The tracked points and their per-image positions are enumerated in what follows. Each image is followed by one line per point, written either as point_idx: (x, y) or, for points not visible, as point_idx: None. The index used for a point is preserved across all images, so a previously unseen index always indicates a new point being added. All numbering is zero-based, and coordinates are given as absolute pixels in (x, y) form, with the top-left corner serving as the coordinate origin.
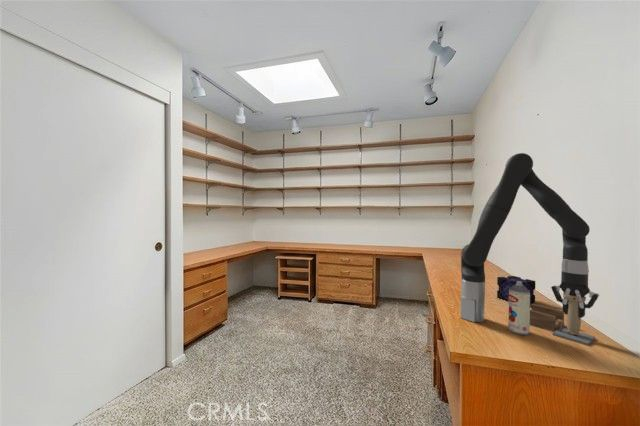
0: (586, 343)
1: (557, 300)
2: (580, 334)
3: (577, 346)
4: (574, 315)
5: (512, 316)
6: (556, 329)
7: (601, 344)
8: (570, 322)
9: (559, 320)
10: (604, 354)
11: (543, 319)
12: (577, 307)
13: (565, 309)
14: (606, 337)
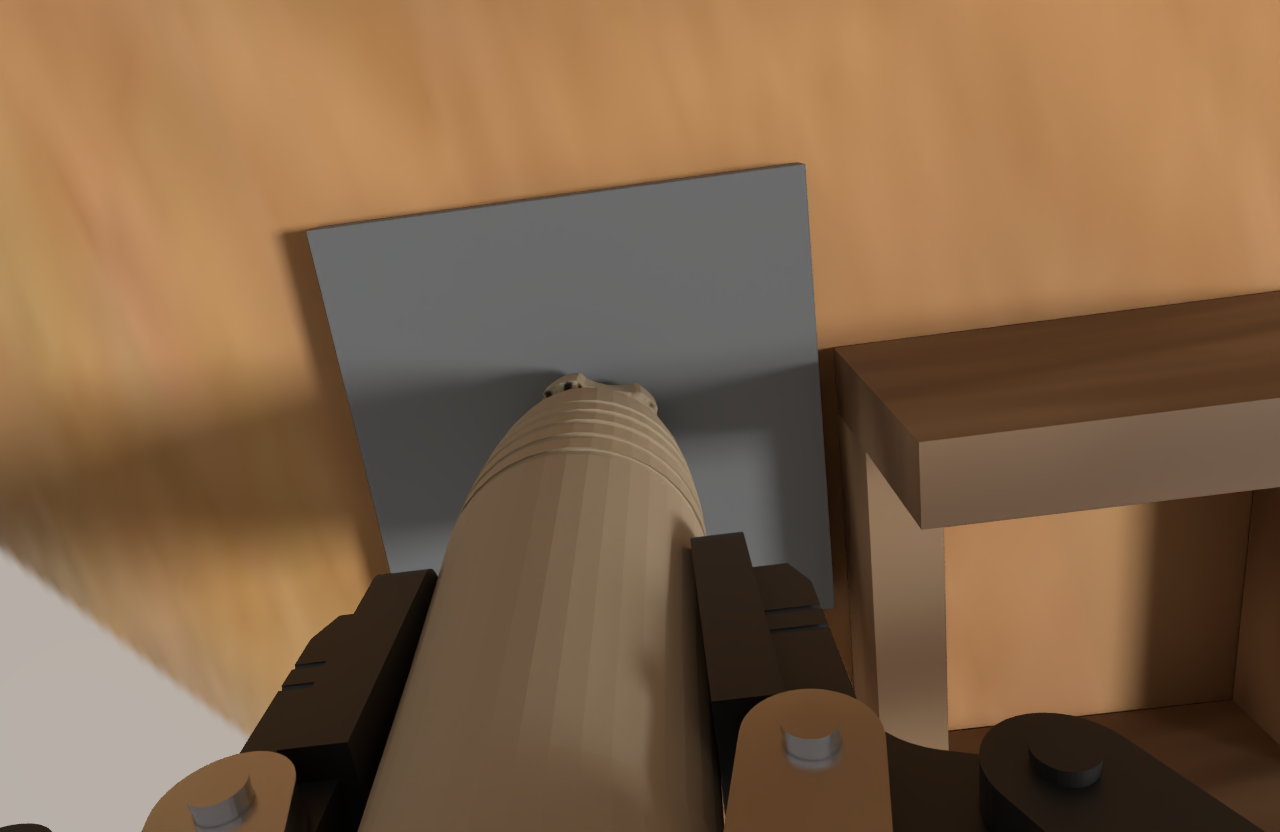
0: (330, 229)
1: (1088, 734)
2: None
3: (368, 4)
4: (500, 530)
5: None
6: (843, 456)
7: (277, 488)
8: (594, 427)
9: None
10: (43, 75)
11: (1082, 373)
12: (393, 751)
13: (738, 599)
14: None
